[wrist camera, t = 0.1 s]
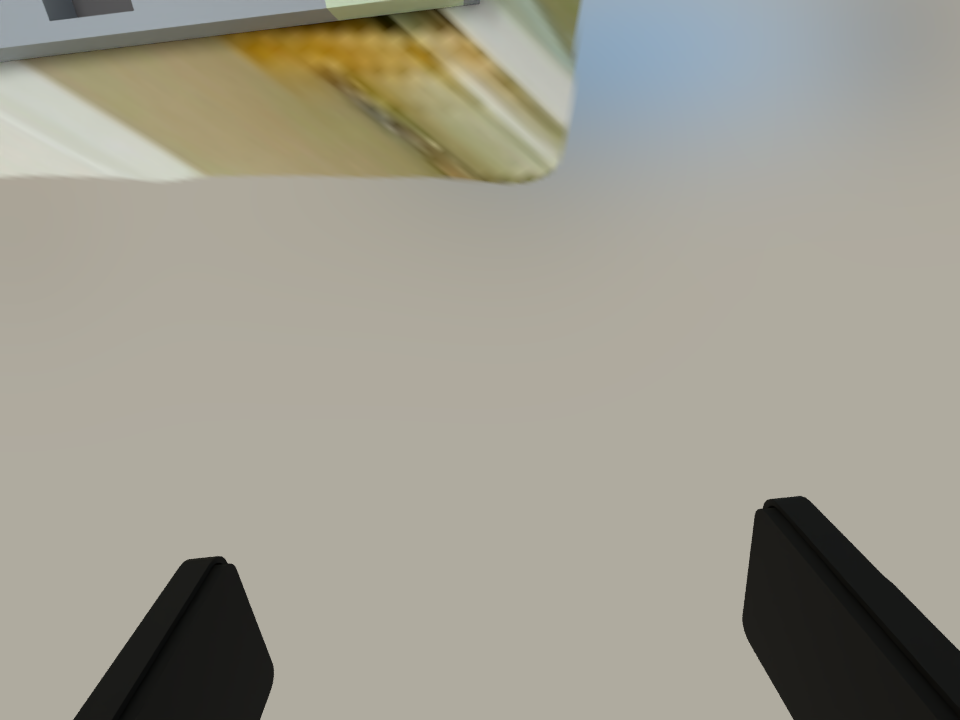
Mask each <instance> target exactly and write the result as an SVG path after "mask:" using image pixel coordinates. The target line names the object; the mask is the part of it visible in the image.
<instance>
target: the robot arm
mask: <svg viewBox="0 0 960 720" xmlns="http://www.w3.org/2000/svg"><path fill="white" fill-rule="evenodd" d="M742 621H743V627H744V631H745V634H746V637H747V639H748V641H749V643H750V645H751V646H752V648H753V650H754V652H755V653H756V655H757V657H758V659H759V660H760V662H761V664H762V666H763V667H764V669H765V671H766V672H767V674H768V676H769V678H770V679H771V681H772V683H773V685H774V686H775V688H776V690H777V691H778V693H779V695H780V697H781V698H782V700H783V702H784V704H785V705H786V707H787V709H788V710H789V712H790V714H791V716H792V717H793V719H794V720H960V651H959V650H958V649H957V648H956V647H955V646H954V645H953V644H952V643H951V642H950V641H949V640H948V639H947V638H946V637H945V636H944V635H943V634H942V633H941V632H940V631H939V630H938V629H937V628H936V627H935V626H934V625H933V624H932V623H931V622H930V621H929V620H928V619H927V618H926V617H925V616H924V615H923V614H922V613H921V612H920V611H919V610H918V608H917V607H916V606H915V605H914V604H913V603H912V602H911V601H909V599H908V598H907V597H906V596H905V595H904V594H903V593H902V592H901V591H900V590H899V589H898V588H897V587H896V586H895V585H894V584H893V583H892V582H890V581H889V580H888V579H887V578H885V577H884V576H883V575H882V574H881V573H880V572H879V571H878V570H877V569H876V568H875V567H874V566H873V565H872V564H871V563H870V562H869V561H868V560H867V559H866V557H865V556H864V555H863V554H862V553H861V552H860V551H859V550H858V549H857V548H856V547H855V546H854V545H853V544H852V543H851V542H850V541H849V540H848V539H847V538H846V537H845V536H844V535H843V534H842V533H841V532H840V531H839V530H838V529H837V528H836V527H835V526H834V525H833V524H832V523H831V522H830V521H829V520H828V519H827V518H826V517H825V516H824V515H823V514H822V513H821V512H820V511H819V510H818V509H817V508H816V507H815V506H814V505H813V504H812V503H811V502H810V501H809V500H808V499H807V498H805V497H802V496H796V497H787V498H777V499H769V500H767V501H766V502H765V503H764V506H763V509H758V510H757V511H756V513H755V518H754V526H753V535H752V543H751V551H750V560H749V568H748V576H747V584H746V592H745V600H744V609H743V617H742ZM273 677H274V668H273V663H272V661H271V658H270V656H269V653H268V650H267V648H266V645H265V643H264V640H263V637H262V635H261V632H260V630H259V627H258V624H257V622H256V619H255V616H254V614H253V611H252V608H251V606H250V604H249V601H248V598H247V595H246V593H245V590H244V588H243V585H242V582H241V580H240V577H239V574H238V572H237V569H236V567H235V566H234V565H233V564H228V563H227V562H226V560H225V559H224V558H223V557H220V556H216V557H207V558H197V559H189V560H186V561H185V562H183V564H182V565H181V566H180V567H179V569H178V570H177V571H176V573H175V574H174V576H173V577H172V578H171V580H170V581H169V583H168V584H167V586H166V587H165V589H164V590H163V591H162V593H161V594H160V596H159V597H158V599H157V600H156V601H155V603H154V604H153V606H152V607H151V609H150V610H149V612H148V613H147V614H146V616H145V617H144V619H143V621H142V622H141V623H140V625H139V626H138V627H137V629H136V630H135V632H134V633H133V635H132V636H131V637H130V639H129V641H128V642H127V643H126V645H125V646H124V648H123V649H122V650H121V652H120V653H119V655H118V656H117V658H116V659H115V660H114V662H113V663H112V665H111V666H110V668H109V669H108V671H107V672H106V673H105V675H104V677H103V678H102V679H101V681H100V682H99V683H98V685H97V686H96V688H95V689H94V691H93V692H92V694H91V695H90V696H89V698H88V699H87V701H86V702H85V704H84V705H83V707H82V708H81V709H80V711H79V712H78V714H77V715H76V717H75V718H74V720H260V718H261V715H262V713H263V710H264V707H265V704H266V702H267V699H268V696H269V693H270V690H271V688H272V684H273Z"/></svg>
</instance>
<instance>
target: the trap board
mask: <svg viewBox="0 0 960 720" xmlns="http://www.w3.org/2000/svg"><path fill="white" fill-rule="evenodd" d="M479 2H480V0H0V62H5V61H13V60H21V59H30V58H38V57H46V56H54V55H62V54H70V53H79V52H87V51H95V50H103V49H111V48H119V47H128V46H136V45H144V44H152V43H160V42H168V41H177V40H185V39H193V38H201V37H209V36H217V35H226V34H234V33H242V32H250V31H258V30H266V29H275V28H283V27H291V26H299V25H307V24H315V23H324V22H332V21H340V20H348V19H356V18H364V17H373V16H381V15H389V14H397V13H405V12H413V11H422V10H430V9H438V8H446V7H454V6H462V5H471V4H479Z"/></svg>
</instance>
